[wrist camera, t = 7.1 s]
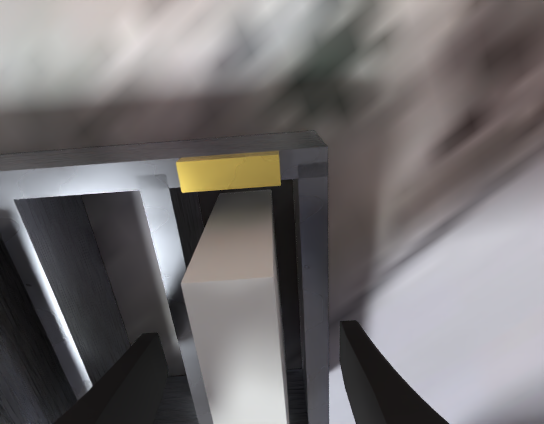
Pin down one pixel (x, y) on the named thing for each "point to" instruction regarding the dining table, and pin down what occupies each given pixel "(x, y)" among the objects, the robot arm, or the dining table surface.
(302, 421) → the rack
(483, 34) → the dining table surface
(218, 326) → the block
